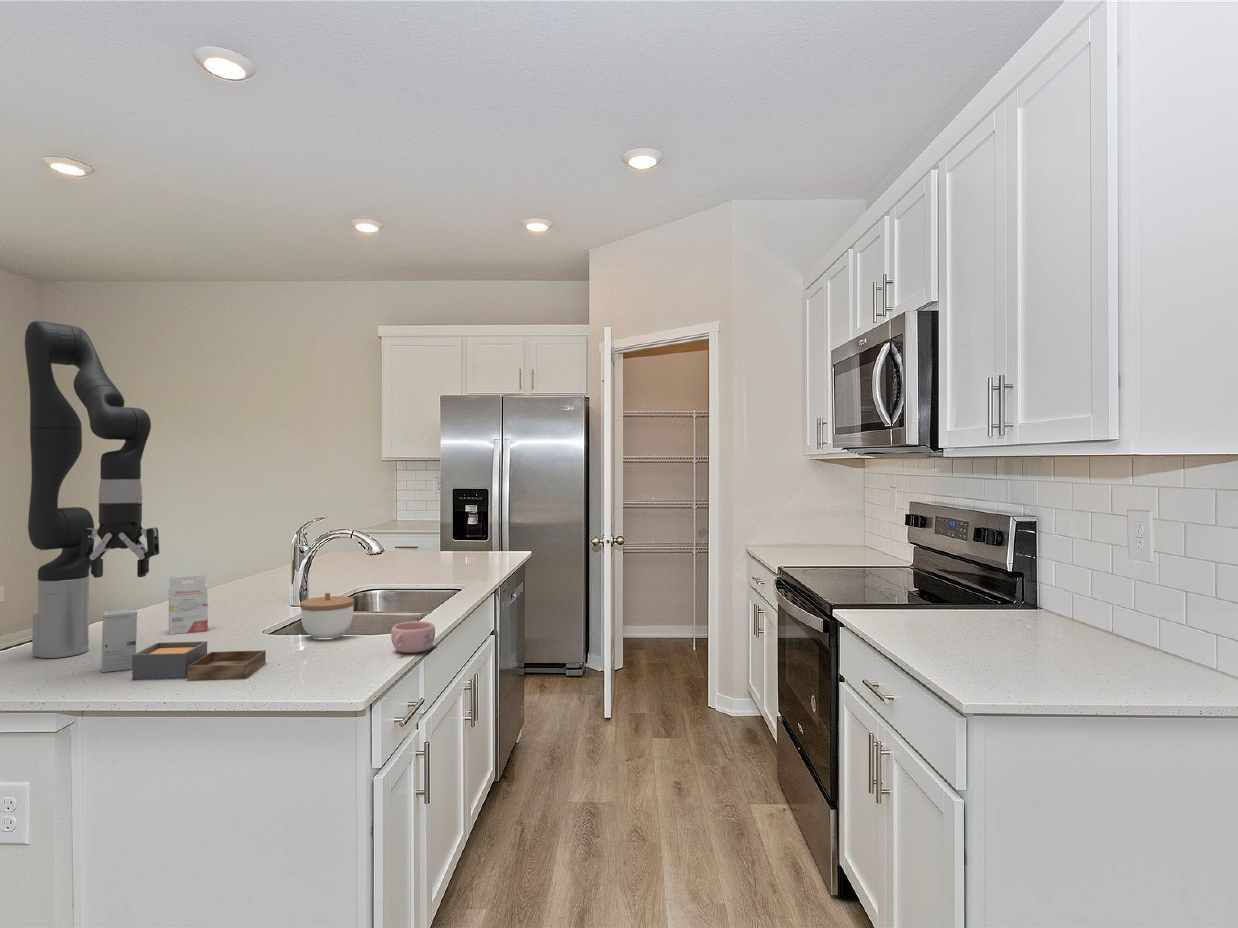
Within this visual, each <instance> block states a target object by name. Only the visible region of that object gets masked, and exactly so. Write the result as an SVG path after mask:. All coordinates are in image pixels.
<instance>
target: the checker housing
mask: <svg viewBox="0 0 1238 928" xmlns="http://www.w3.org/2000/svg"><path fill="white" fill-rule="evenodd" d="M184 647H194V648H192V649H191V650H189V651H187V652H185V653H167V654H149V653H151V652H153V651H155V650H157V649H159V648H184ZM207 654H208V640H207V641H173V642H171V641H170V642H169V641H168V642H165V641H164V642H156V643H154V644H152V645H150V646H148V647H145V648H144V649H142V650H140V651H138V652H136V654H134V655H132V669H131V671H132V672H131V675H132V677H131V680H132V681H141V680H142V681H143V680H169V679H170V680H171V679H187V666H188V665H190V664H192V663H193V662H195V661H197V660H198V659H200V658H202V657H203V656H205V655H207Z"/></svg>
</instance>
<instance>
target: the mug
mask: <svg viewBox="0 0 1238 928" xmlns="http://www.w3.org/2000/svg"><path fill="white" fill-rule="evenodd" d="M435 638H436V627H435V624H433V623H432V622H429V621H417V620H413V621H405V622H400V623H395V624H394V625H393V626H392V628H391V631H390V639H391V643H392V646H393V647H394V649H395V650H396V651H397V652H399V653H404V654H416V653H421V652H425V651H427V650H430V648H431V647H432V646H433V644H434V642H435Z"/></svg>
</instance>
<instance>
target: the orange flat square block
mask: <svg viewBox="0 0 1238 928" xmlns="http://www.w3.org/2000/svg"><path fill="white" fill-rule="evenodd" d="M192 648H194V647H184V648H159V649H157V650H155V651H153V652H151V653H149V654H167V653H185V652H187V651H189V650H191V649H192Z"/></svg>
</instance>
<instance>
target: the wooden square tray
mask: <svg viewBox="0 0 1238 928" xmlns="http://www.w3.org/2000/svg"><path fill="white" fill-rule="evenodd" d="M266 655H267V653H266V649H265V650H236V651H235V650H233V651H231V650H229V651H210V652H207V655H205V656H203V657H202V658H200V659H198V660H197V661H195V662H193V663H192V664H190V665H188V666H187V678H186V681H210V680H212V681H215V680H238V679H239V680H240V679H242V680H243V679H247V678H249V677H250V676H251V675H253V673H255V672H257V670H258V669H259V670H260V668H262V666H264V665H265V664H266V662H267V661H266V660H267V659H266Z"/></svg>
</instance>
